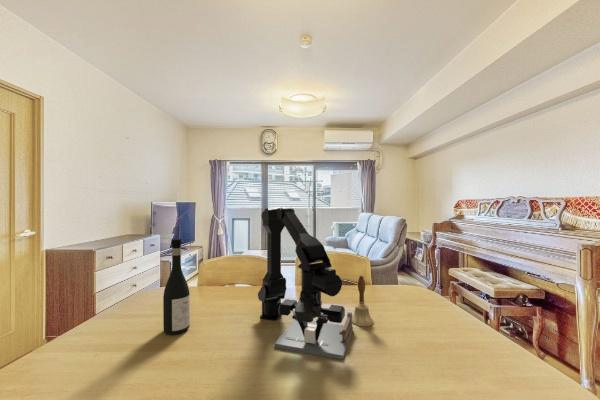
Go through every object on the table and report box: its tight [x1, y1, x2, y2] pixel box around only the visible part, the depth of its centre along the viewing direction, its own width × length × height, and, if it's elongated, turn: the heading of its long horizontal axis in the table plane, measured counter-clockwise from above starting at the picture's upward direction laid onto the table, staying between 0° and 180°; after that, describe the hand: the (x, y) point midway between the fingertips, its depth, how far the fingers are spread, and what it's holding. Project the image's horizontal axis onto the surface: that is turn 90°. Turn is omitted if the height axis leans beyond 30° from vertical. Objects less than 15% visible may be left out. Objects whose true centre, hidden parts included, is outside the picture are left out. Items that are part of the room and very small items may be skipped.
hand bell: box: [352, 275, 375, 327], centre depth 100 cm, size 8×8×16 cm
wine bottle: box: [162, 238, 191, 335], centre depth 93 cm, size 8×8×30 cm
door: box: [339, 316, 351, 342], centre depth 88 cm, size 2×10×3 cm, turn 161°
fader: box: [304, 324, 317, 344], centre depth 83 cm, size 3×4×4 cm
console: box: [273, 311, 354, 361], centre depth 88 cm, size 20×19×6 cm
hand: (311, 339), depth 83 cm, fingers closed on fader, 3 cm apart
